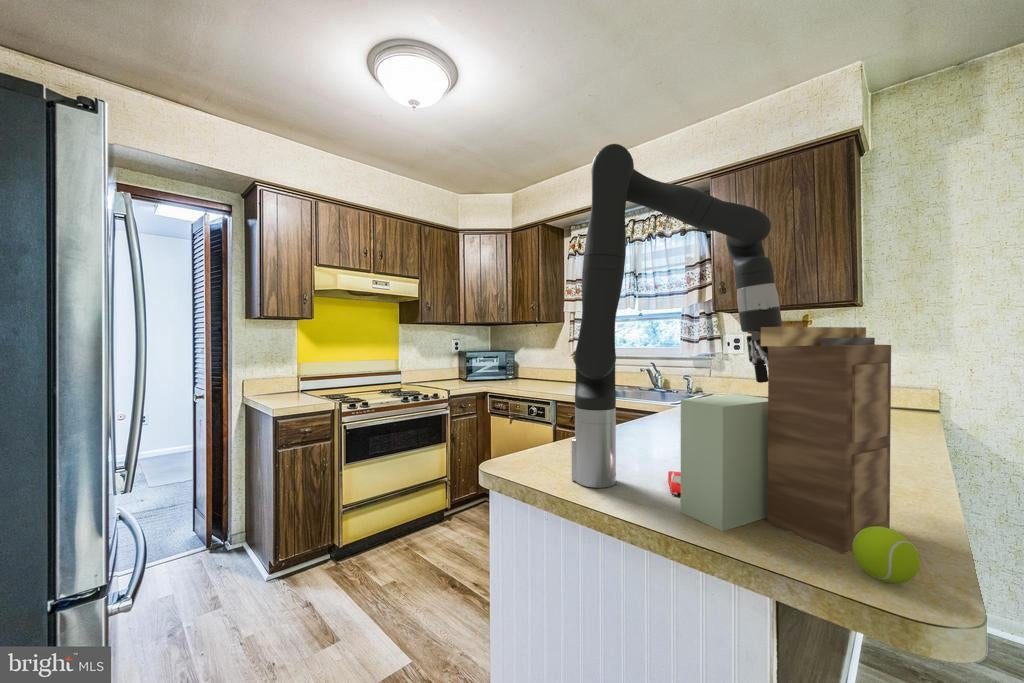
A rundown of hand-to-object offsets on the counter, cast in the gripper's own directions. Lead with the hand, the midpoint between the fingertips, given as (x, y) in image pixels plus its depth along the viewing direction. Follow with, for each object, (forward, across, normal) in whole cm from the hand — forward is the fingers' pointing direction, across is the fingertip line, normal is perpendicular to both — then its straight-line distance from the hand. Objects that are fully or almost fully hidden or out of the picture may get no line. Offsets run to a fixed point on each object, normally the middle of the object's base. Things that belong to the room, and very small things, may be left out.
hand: (769, 384), depth 90 cm
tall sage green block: (+22, +11, -13) cm, 28 cm away
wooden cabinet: (+24, +15, +1) cm, 28 cm away
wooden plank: (-8, +18, +2) cm, 20 cm away
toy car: (+22, -1, -20) cm, 30 cm away
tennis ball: (+24, +30, +1) cm, 39 cm away
